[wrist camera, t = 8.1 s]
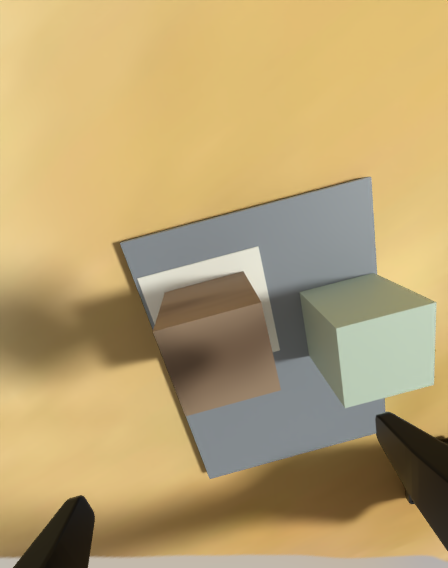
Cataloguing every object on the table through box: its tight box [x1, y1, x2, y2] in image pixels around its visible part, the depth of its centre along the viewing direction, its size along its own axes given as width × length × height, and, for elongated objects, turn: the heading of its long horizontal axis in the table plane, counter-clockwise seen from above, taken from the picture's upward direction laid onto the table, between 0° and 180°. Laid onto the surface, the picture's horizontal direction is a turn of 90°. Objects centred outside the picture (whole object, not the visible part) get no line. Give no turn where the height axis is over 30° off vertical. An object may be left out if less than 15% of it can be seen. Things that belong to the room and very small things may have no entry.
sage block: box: [299, 273, 436, 408], centre depth 16 cm, size 5×5×5 cm
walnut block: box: [153, 271, 281, 416], centre depth 16 cm, size 5×5×5 cm
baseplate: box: [120, 177, 385, 479], centre depth 20 cm, size 20×15×1 cm
